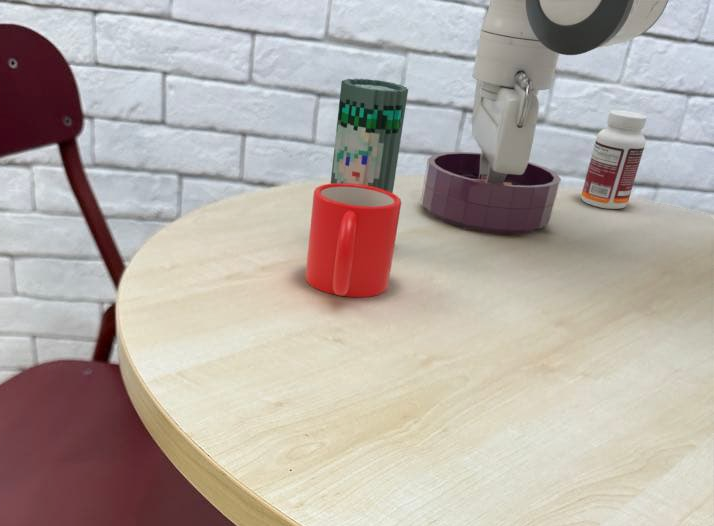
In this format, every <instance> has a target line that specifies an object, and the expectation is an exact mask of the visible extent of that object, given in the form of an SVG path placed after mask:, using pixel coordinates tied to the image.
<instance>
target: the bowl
mask: <svg viewBox="0 0 714 526" xmlns="http://www.w3.org/2000/svg"><path fill="white" fill-rule="evenodd" d="M480 155H481V152H471V151H451V152H449V151H448V152H440V153H436V154H432V155H431V156H429V157H428V158H427V161H426V166H425V171H424V178H423V179H424V180H423V183H422V184H423V185H422V190H421V196H420V201H421V205H422V206H423V207H424V208H425V209H426V210H427V211H429V213H430V214H431V215H432V216H433V217H434V218H437V219H438V220H440V221H442V222H444V223H446V224H450V225H452V226H455V227H458V228H462V229H466V230H469V231H470V230H471V231H476V232H481V233H489V234H496V235H497V234H498V235H520V234H521V235H522V234H528V233H531V232H534V231H537V230H538V229H540V228H543V227H545V226H547V225H549V224H550V222H551V220H552V215H553V212H554V208H555V204H556V200H557V196H558V193H559V189H560V185H561V181H562V178H561V177H560V176H559V175H558V174H557V173H556V172H555V171H552V170H551V169H549V168H547V167H545V166H543V165H539V164H537V163H533V162H531V161H529V162H528V165H527V168H526V170H525V172H524V173H523V174H522V175H515V174H507V176H506V178H505V181H504V182H508V183H512V185H507V184H498V183H491V182H485V181H480V180H475V179H478V178H479V171H480Z"/></svg>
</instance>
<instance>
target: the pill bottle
mask: <svg viewBox="0 0 714 526" xmlns="http://www.w3.org/2000/svg"><path fill="white" fill-rule="evenodd" d="M608 112H609V113H608V116H607V119H606V124H607V127H606V128H603V129H601V130H600V131H599V132H598V133H597V135H596V139H595V142H594V147H593V150H592V152H591V157H590V161H589V163H588V164H589V165H588V168H587V172H586V176H585V180H584V183H583V186H582V191H581V196H580V197H581V200H582V202H584V203H586V204H587V205H590V206H593V207H596V208H600V209H607V210H609V209H610V210H621V209H623V208H626V207H627V205H628V204H629V200H630V197H631V194H632V191H633V186H634V183H635V181H636V176H637V174H638V169H639V167H640V163H641V159H642V157H643V153H644V149H645V146H646V138H645V135H644V134H642V130H643V129H644V128H645V125H646V122H647V119H648V116H646V115H645V114H642V113H639V112H635V111H630V110H621V109H612V110H610V111H608Z"/></svg>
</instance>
